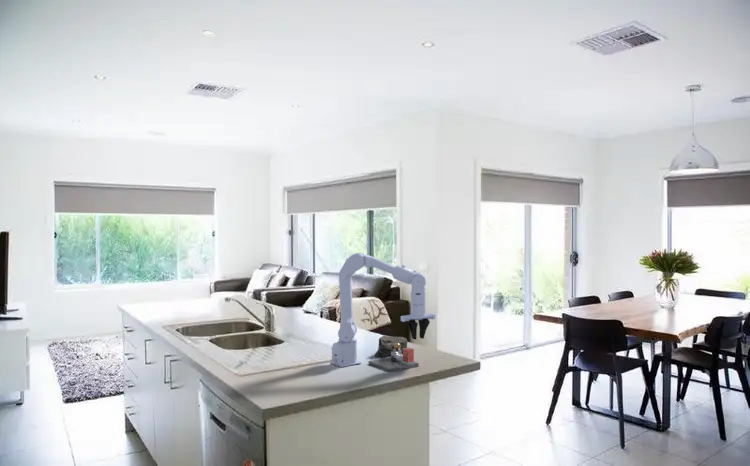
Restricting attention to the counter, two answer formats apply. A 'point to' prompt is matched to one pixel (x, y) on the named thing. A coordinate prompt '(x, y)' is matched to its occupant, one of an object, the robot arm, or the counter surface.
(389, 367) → the base
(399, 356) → the lever
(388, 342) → the stone
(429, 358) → the counter surface
